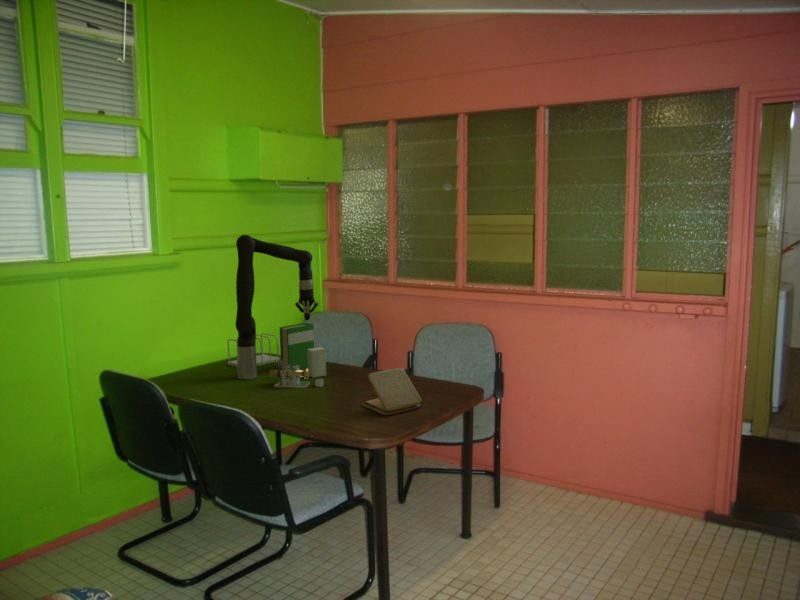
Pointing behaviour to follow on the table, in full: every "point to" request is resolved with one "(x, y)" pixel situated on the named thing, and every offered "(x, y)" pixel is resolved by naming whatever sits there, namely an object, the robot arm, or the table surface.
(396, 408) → the case
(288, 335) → the hardback book
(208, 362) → the table surface
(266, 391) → the table surface
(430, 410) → the table surface
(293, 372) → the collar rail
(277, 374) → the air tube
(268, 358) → the file sorter
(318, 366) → the skincare box
